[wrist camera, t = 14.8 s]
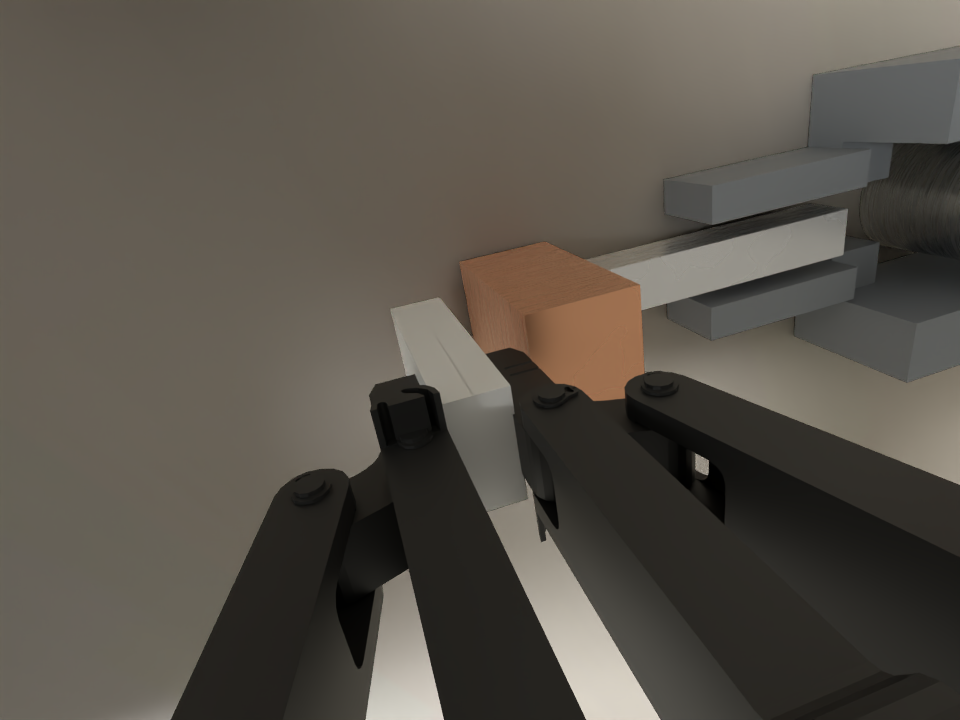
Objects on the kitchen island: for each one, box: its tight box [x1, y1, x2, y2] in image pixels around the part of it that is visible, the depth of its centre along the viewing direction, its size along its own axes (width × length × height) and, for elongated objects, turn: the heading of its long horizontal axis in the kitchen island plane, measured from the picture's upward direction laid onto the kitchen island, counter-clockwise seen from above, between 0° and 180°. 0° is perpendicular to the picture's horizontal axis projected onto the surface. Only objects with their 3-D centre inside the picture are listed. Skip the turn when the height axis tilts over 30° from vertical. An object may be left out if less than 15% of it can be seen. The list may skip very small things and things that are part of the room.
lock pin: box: [459, 204, 848, 401], centre depth 18 cm, size 13×3×6 cm, turn 100°
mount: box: [664, 46, 960, 383], centre depth 20 cm, size 16×10×5 cm, turn 100°
